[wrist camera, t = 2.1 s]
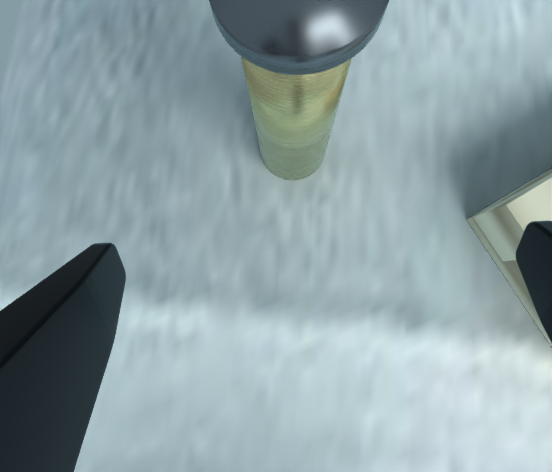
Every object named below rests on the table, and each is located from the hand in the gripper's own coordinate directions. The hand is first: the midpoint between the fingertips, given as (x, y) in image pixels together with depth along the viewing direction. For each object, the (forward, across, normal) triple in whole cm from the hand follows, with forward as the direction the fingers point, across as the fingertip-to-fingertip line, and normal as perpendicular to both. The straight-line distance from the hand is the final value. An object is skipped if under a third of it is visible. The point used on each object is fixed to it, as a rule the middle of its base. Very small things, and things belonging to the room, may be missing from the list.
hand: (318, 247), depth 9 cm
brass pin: (+14, 0, +4) cm, 15 cm away
